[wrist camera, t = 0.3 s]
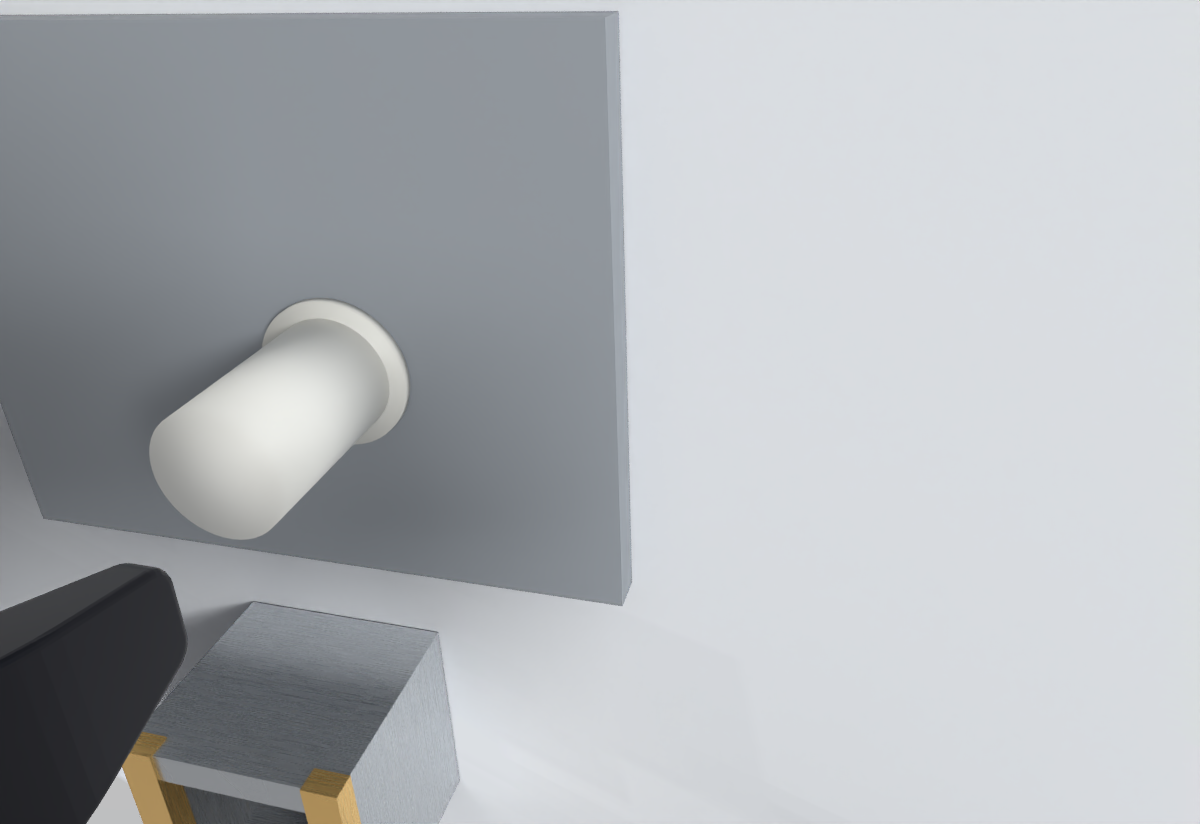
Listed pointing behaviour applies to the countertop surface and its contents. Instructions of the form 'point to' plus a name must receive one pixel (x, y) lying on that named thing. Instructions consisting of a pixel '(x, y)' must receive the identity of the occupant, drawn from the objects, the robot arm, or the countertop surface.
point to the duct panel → (324, 286)
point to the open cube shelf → (302, 727)
